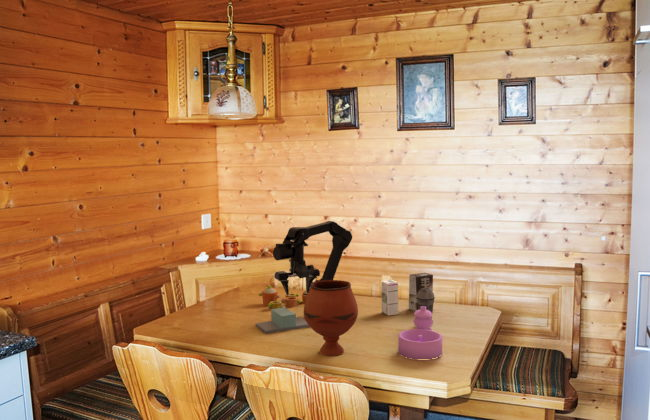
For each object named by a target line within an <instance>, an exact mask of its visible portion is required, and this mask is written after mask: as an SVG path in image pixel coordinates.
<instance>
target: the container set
mask: <svg viewBox="0 0 650 420" xmlns="http://www.w3.org/2000/svg"><path fill="white" fill-rule="evenodd" d="M413 315H414V318H413V324H414V327H415V328H413V329H406V330H402V331H400V332H399V333H398V336H397V337H398V351H399V352H398V354H399V356H401V355H402V356H404V357H407V358H406V359H408V358H412V359H432V358H436V357H439V356H440V355H441V354H442V355H443V335H442V334H441V333H439V332H437V331H434V330H433V329H432V328H431V327H432V325H433V323H434V320H433V313H431V312H430V311H429V310H426V306H421V307H420V310H417V311H416V312H415V311H414V314H413ZM431 317H432V318H431ZM402 356H401V357H402ZM404 357H403V358H404ZM439 358H440V357H439ZM412 359H411V360H412Z"/></svg>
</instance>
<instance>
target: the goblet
mask: <svg viewBox="0 0 650 420" xmlns="http://www.w3.org/2000/svg"><path fill="white" fill-rule="evenodd" d="M310 286H311V287H310V290H309V293H308V295H307V298H306V300H305V304H304V303H303V304H304V305H303V316H304V320H306V322H307V324H308V325H309V326H310V327H309V328H311V329H312V330H313V332H315V333H316V334H318V335H320V336H322V337H323V338H322V339H323V340H324V343H323V344H322V345H321V347H320V349H319V354H320V355H322V356H327V357H335V356H339V355H340V356H341V355H343V354H344V352H345V350H344V347H343V346H342V345H341V344H340V343H339V340H340V336H342V335H344V334H346V333H347V332H349V330H351V328H352V327H353V326H354V325H355V324H356V322H357V319H358V315H359V308H358V303H357V299H356V297H355V295H354V292H353V289H352V283H351V282H350V281H346V280H341V279H340V280H339V279H337V280H336V279H333V280H322V281H316V280H315V281H313V282H312V283H311V285H310Z"/></svg>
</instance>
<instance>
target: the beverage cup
mask: <svg viewBox="0 0 650 420" xmlns="http://www.w3.org/2000/svg"><path fill="white" fill-rule="evenodd" d="M435 298H436V297H435V293H434V290H433V291H432V290H431V289H429V288H426V278H425V288H422V289H421V290H420V291H419V292H418V295H417V301H418V308H419V310H420V307H421V306H426V310H429V311H430V312H431V313H432V314H433V313H434V312H433V311H434V303H435ZM431 318H432V319H433V316H432V317H431Z"/></svg>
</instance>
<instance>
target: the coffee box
mask: <svg viewBox="0 0 650 420" xmlns="http://www.w3.org/2000/svg"><path fill="white" fill-rule="evenodd" d="M425 278H426V288H429V289H431V290H432V291H433V292H434V274H431V273H427V272H419V273H411V274H409V277H408V280H409V281H408V309H409V310H411V311H413V312H414V313H415V312H416V311H417V310H419V308H418V301H417V295H418V292H419V291H420V290H421V289H422V288H425Z"/></svg>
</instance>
